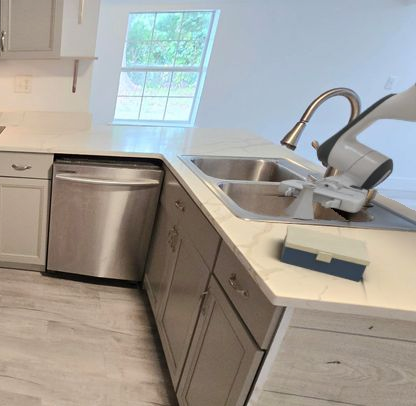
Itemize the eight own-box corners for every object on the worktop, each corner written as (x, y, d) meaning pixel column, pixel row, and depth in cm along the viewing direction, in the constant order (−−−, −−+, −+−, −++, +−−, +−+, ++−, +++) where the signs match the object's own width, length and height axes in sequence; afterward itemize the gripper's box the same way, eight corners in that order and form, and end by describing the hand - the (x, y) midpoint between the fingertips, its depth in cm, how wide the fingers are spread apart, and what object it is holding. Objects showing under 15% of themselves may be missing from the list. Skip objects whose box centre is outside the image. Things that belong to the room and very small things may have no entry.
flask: (289, 218, 111) (300, 188, 107) (280, 209, 117) (289, 180, 113) (318, 221, 109) (330, 190, 105) (307, 211, 115) (318, 182, 111)
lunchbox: (355, 260, 90) (364, 240, 88) (360, 283, 81) (370, 262, 79) (281, 242, 98) (288, 224, 96) (279, 262, 90) (286, 242, 88)
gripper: (294, 173, 124) (270, 179, 118) (375, 192, 107) (351, 201, 101) (289, 190, 126) (265, 197, 121) (367, 211, 109) (343, 221, 104)
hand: (305, 199), depth 111 cm, fingers open, 8 cm apart
